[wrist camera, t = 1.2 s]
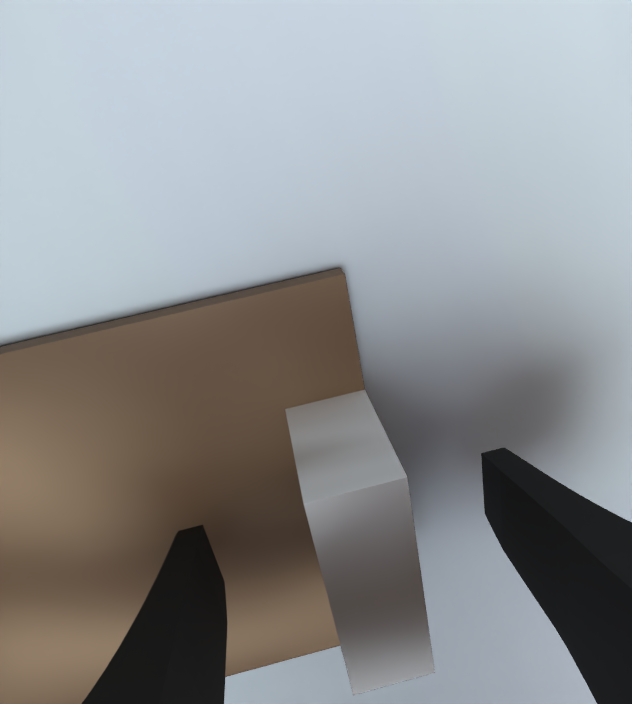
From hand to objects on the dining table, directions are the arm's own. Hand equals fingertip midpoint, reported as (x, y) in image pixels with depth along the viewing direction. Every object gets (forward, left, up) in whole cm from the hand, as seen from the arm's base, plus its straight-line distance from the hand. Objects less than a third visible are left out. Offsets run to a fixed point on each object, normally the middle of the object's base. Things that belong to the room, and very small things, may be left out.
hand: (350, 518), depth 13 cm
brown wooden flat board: (0, +10, -2) cm, 10 cm away
